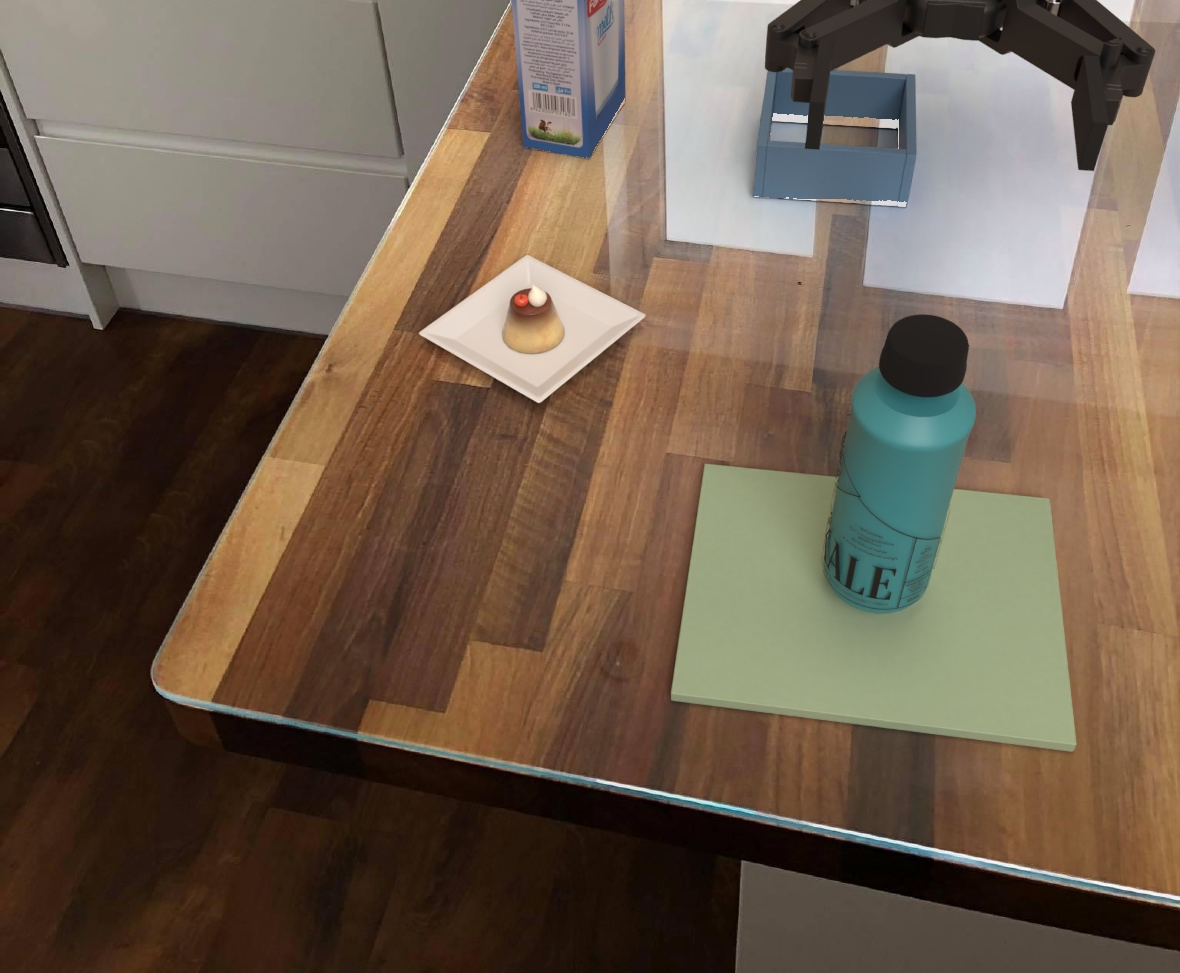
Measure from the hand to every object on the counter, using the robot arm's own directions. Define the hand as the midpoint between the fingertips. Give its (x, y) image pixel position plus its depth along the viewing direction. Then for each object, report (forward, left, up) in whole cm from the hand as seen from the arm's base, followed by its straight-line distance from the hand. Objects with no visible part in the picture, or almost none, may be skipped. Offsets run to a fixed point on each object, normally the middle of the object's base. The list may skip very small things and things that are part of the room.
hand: (951, 136), depth 61 cm
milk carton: (+27, -40, -26) cm, 55 cm away
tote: (+4, -37, -26) cm, 45 cm away
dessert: (+25, -11, -26) cm, 38 cm away
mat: (0, +10, -26) cm, 27 cm away
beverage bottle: (0, +10, -25) cm, 27 cm away
